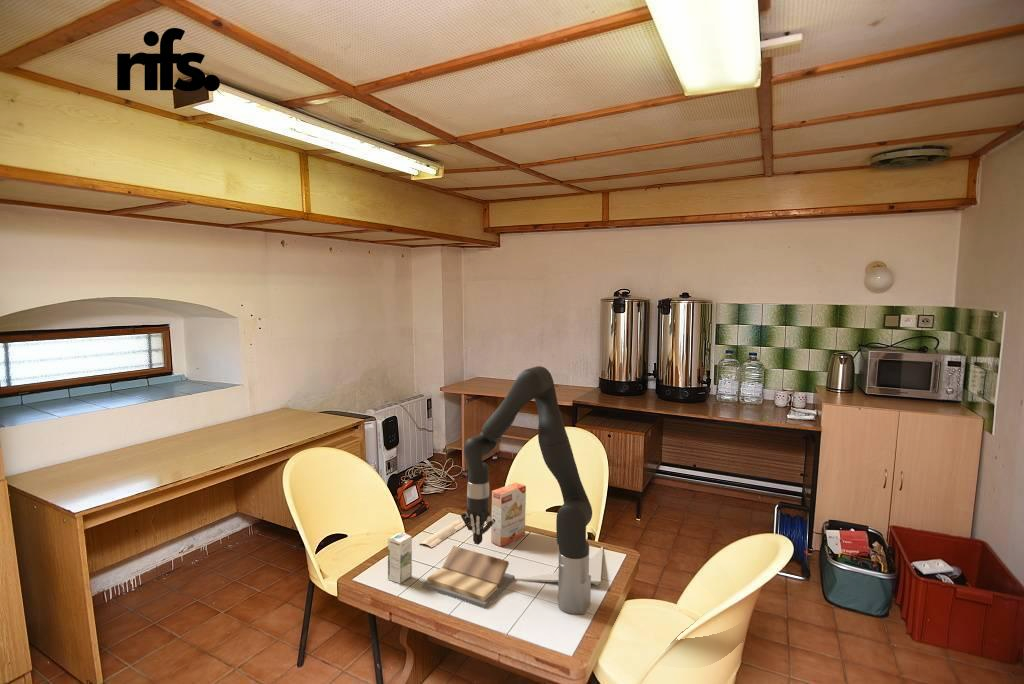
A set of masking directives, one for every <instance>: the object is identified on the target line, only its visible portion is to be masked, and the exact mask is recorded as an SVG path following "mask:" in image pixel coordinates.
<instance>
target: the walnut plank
mask: <svg viewBox="0 0 1024 684" xmlns="http://www.w3.org/2000/svg"><path fill="white" fill-rule="evenodd" d="M509 565H510V563H509V561H508V560H505V559H501V558H497V557H494V556H491V555H487V554H483V553H480V552H476V551H474V550H470V549H466V548H463V547H460V546H455V545H453V546H452V548H451V550H450V551H449V553H448V555H447V557H446V559H445V562H444V563H443V564H442V566H441V567H443V568H447V569H450V570H453V571H456V572H459V573H463V574H466V575H469V576H472V577H475V578H479V579H482V580H485V581H488V582H491V583H495V584H497V586H499V585H500V583H501V581H502V579H503V576H504V574H505V573H507V569H508V568H509Z"/></svg>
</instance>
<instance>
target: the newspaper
mask: <svg viewBox="0 0 1024 684" xmlns="http://www.w3.org/2000/svg"><path fill="white" fill-rule="evenodd" d="M464 525H465V523H464V521H463V520H454V521H453V522H452V523H450V524H448V525H447V526H445V527H443V528H442V529H440V530H439V531H437V532H435V533H434V534H432V535H430V536H429V537H427V538H425V539H424V540H422V541H421V542H420V543H419V544H421V545H427V546H429V547H430V548H431V549H433V548H434V547H436V546H437V545H439V544H440V543H442V542H443V541H445V540H447V539H448V538H449V537H451V536H452V535H454V534H455V533H457V532H458V531H457V530H458V529H460V528H462V526H464ZM462 529H463V528H462ZM460 530H461V529H460ZM456 531H457V532H456ZM454 532H455V533H454ZM453 533H454V534H453ZM451 534H452V535H451ZM450 535H451V536H450ZM447 537H448V538H447ZM444 539H445V540H444ZM441 541H442V542H441ZM438 543H439V544H438ZM419 544H418V545H419ZM435 545H436V546H435ZM432 547H433V548H432Z"/></svg>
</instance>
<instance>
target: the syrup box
mask: <svg viewBox="0 0 1024 684" xmlns="http://www.w3.org/2000/svg"><path fill="white" fill-rule="evenodd" d="M412 542H413V538H412V535H409V534H407V533H403V532H398V533H396V534H394V535H392V536H391V537H389V538H387V580H389V581H391V582H394V583H396V582H397V584H399V585H401V584H402V583H404V582H406V581H407V580H408V579H410V578H411V577H412V575H413V574H412V573H413V572H412V571H413V568H412V567H413V566H412V564H413V562H412V561H413V560H412V555H413V550H412V549H413V543H412Z"/></svg>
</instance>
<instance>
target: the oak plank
mask: <svg viewBox="0 0 1024 684" xmlns="http://www.w3.org/2000/svg"><path fill="white" fill-rule="evenodd" d="M426 581H427V583H430V584H433V585H436V586H439V587H442V588H445V589H448V590H451V591H454V592H457V593H460V594H463V595H466V596H469V597H472V598H475V599H478V600H481V601H485V600H486V599H487V598H488V597H490V596H491V595H492V594H493V593H494V592H495V591H496V590H497V584H495V583H491V582H488V581H485V580H482V579H479V578H475V577H472V576H469V575H466V574H463V573H459V572H456V571H453V570H450V569H447V568H443V567H442V566H441V567H440V568H438V569H437V570H436V571H435V572H433V573H432V574H430V575H429V576H428V577H427V578H426Z"/></svg>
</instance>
